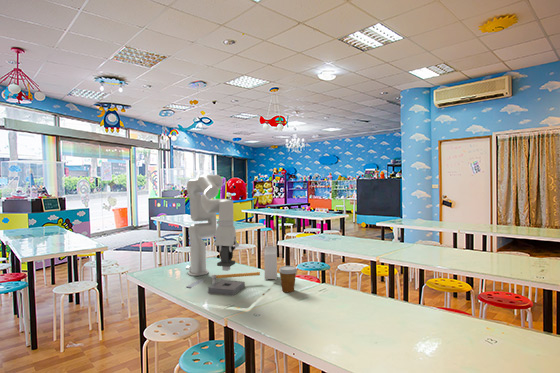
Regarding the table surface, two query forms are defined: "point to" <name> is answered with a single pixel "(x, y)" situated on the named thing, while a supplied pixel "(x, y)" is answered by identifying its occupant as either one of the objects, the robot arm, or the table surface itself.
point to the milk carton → (270, 262)
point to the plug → (225, 259)
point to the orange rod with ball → (235, 275)
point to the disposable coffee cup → (287, 278)
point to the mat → (195, 283)
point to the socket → (226, 287)
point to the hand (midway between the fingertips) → (226, 258)
